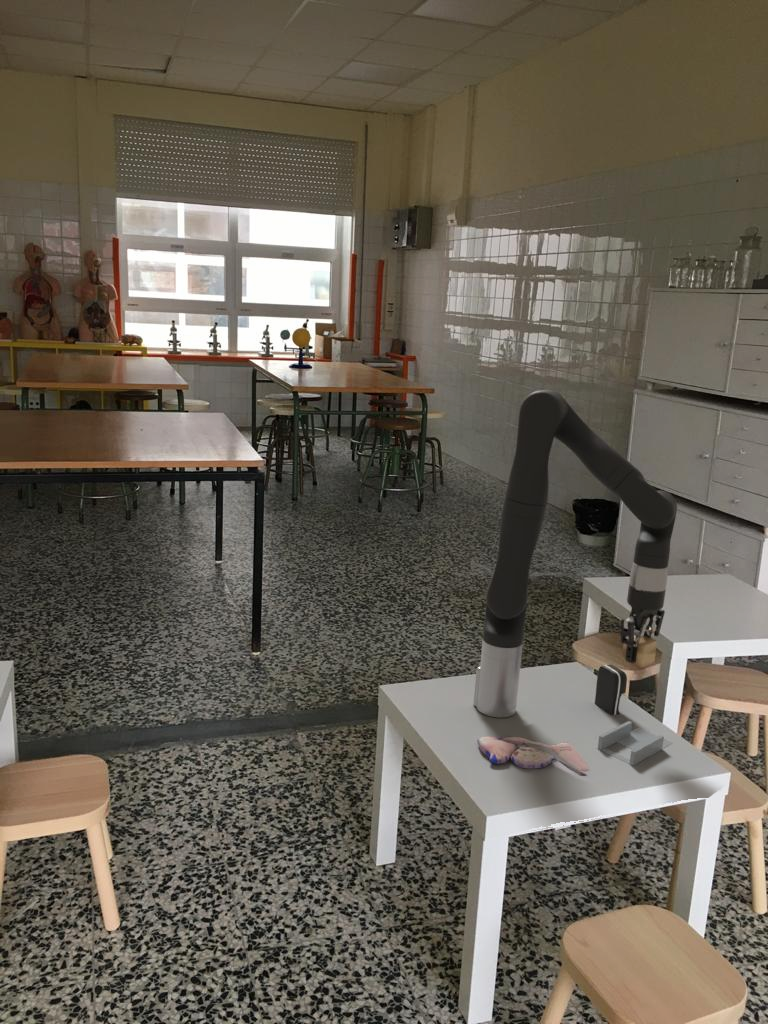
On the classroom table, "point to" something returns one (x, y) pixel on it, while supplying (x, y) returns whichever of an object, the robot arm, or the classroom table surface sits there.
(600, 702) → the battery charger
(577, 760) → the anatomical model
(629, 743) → the channel
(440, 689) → the classroom table surface
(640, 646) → the oak block
